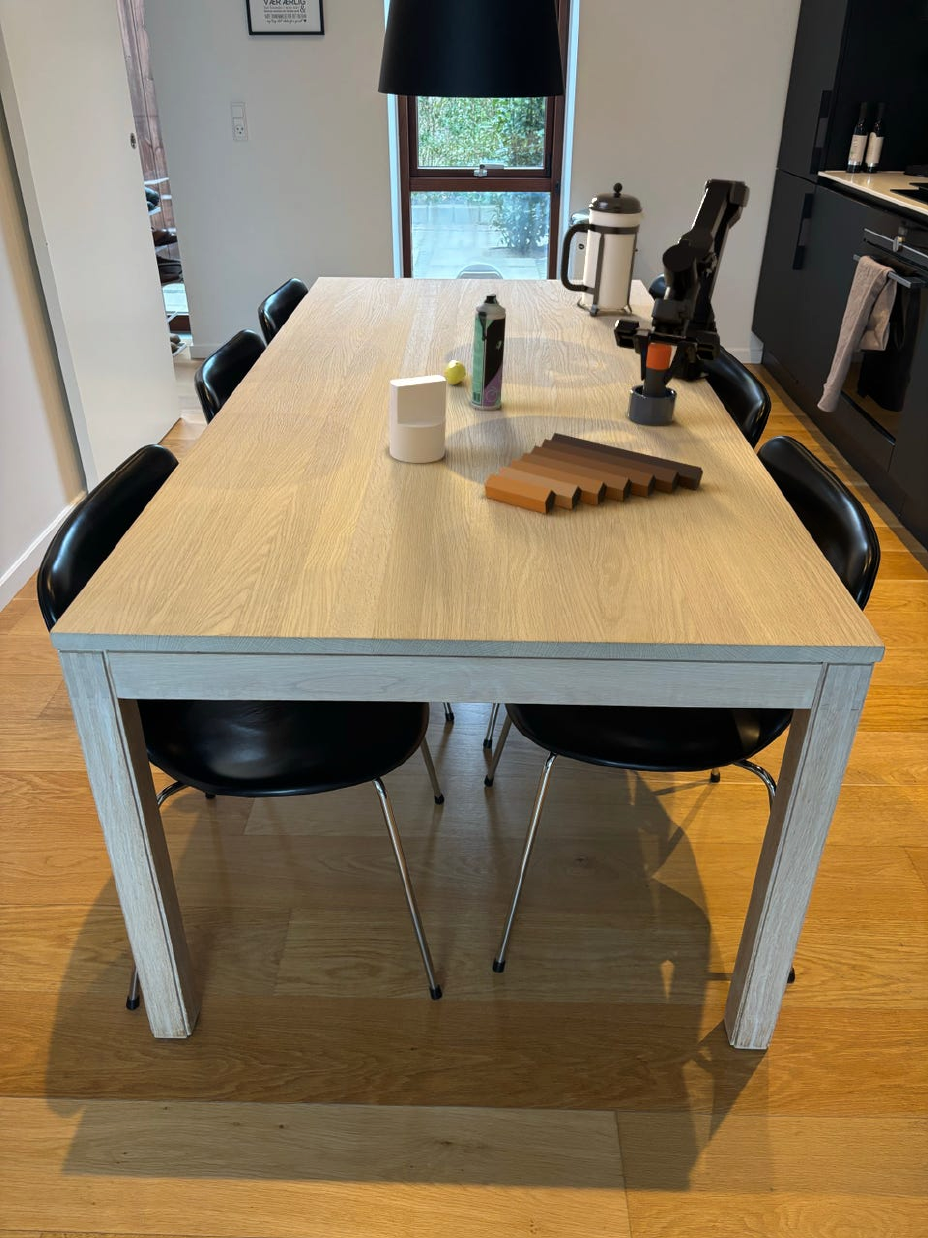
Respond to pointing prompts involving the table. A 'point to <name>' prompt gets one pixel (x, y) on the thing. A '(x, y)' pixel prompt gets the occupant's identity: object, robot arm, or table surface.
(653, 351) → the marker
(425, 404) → the base with upright slab
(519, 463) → the pan flute
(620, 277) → the coffee press
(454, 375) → the yellow potato
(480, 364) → the spray can
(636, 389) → the pen cup
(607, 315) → the table surface
